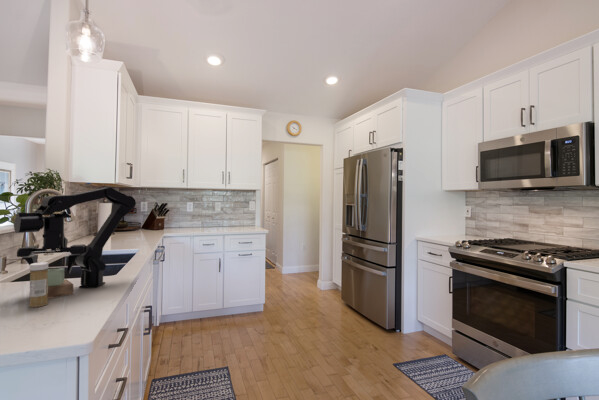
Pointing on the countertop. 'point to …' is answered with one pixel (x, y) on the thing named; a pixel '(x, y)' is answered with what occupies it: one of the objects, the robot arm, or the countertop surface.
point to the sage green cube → (55, 276)
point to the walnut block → (60, 289)
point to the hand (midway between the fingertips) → (53, 274)
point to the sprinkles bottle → (38, 284)
